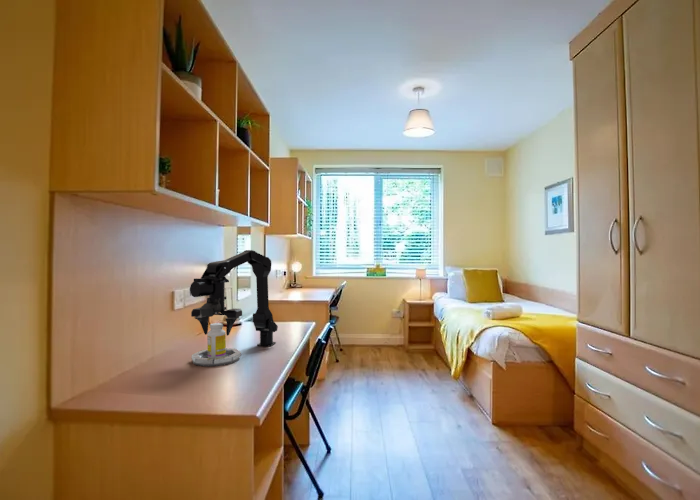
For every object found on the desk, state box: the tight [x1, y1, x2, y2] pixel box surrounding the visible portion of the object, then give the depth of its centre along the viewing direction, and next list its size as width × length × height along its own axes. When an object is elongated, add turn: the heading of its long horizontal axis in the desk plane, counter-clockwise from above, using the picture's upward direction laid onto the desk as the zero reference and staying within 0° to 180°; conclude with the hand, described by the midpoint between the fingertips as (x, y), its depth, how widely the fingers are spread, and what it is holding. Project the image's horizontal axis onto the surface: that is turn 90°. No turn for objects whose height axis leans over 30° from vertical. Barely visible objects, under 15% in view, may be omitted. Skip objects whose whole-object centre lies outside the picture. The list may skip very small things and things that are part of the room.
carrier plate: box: [191, 347, 242, 367], centre depth 147 cm, size 17×17×2 cm
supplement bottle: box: [206, 322, 227, 358], centre depth 147 cm, size 7×7×13 cm
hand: (216, 334), depth 147 cm, fingers open, 9 cm apart
